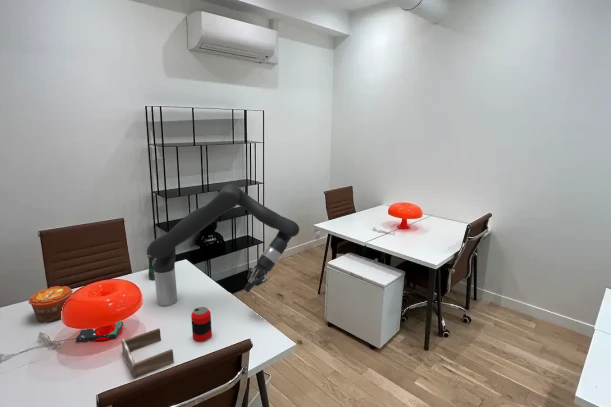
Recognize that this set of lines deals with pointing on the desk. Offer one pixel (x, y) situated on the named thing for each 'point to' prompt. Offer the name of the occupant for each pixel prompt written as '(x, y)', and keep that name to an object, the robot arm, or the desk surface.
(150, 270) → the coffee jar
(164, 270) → the robot arm
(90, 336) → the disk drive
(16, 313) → the desk surface
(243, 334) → the desk surface
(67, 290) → the food container
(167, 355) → the frame
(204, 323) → the soda can
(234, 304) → the desk surface
